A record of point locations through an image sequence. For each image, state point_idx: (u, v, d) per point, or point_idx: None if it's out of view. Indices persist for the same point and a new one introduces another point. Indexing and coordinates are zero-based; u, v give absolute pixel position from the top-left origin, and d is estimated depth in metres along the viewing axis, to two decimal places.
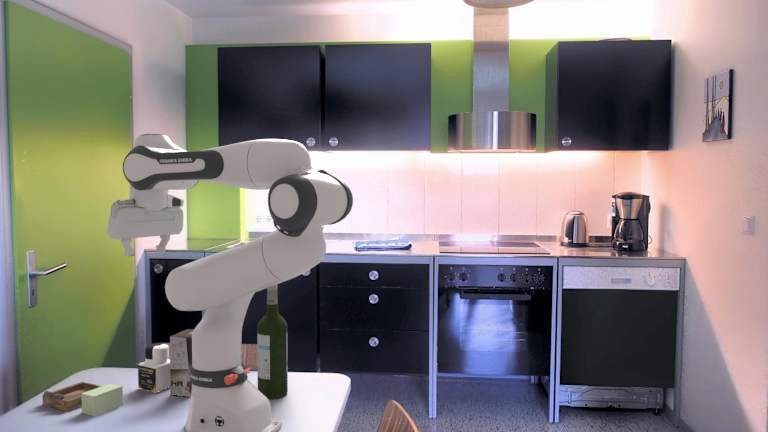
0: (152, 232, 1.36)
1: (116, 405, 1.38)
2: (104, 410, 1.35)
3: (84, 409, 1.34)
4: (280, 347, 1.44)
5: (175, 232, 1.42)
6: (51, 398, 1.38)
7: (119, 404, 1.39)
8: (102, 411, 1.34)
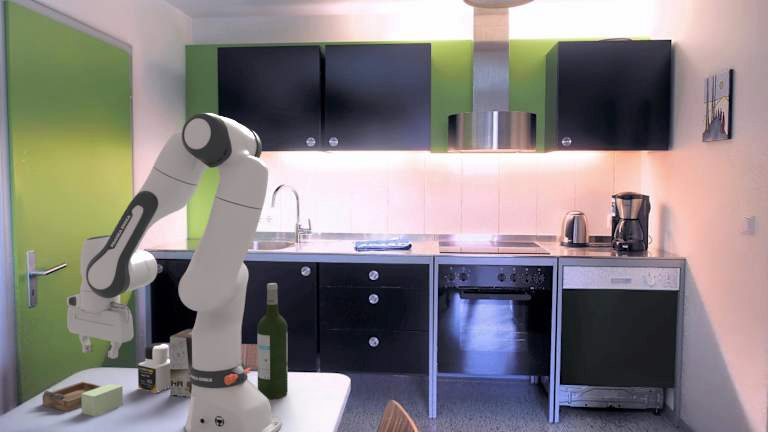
0: None
1: (116, 405, 1.38)
2: (104, 410, 1.35)
3: (84, 409, 1.34)
4: (280, 347, 1.44)
5: None
6: (51, 398, 1.38)
7: (119, 404, 1.39)
8: (102, 411, 1.34)
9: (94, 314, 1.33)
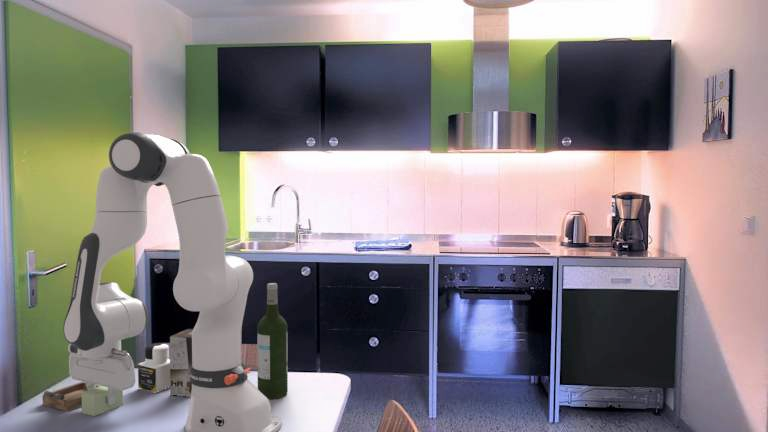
0: None
1: (116, 404, 1.38)
2: (104, 409, 1.35)
3: (84, 408, 1.34)
4: (280, 347, 1.44)
5: None
6: (51, 398, 1.38)
7: (119, 403, 1.39)
8: (102, 410, 1.34)
9: (95, 362, 1.33)
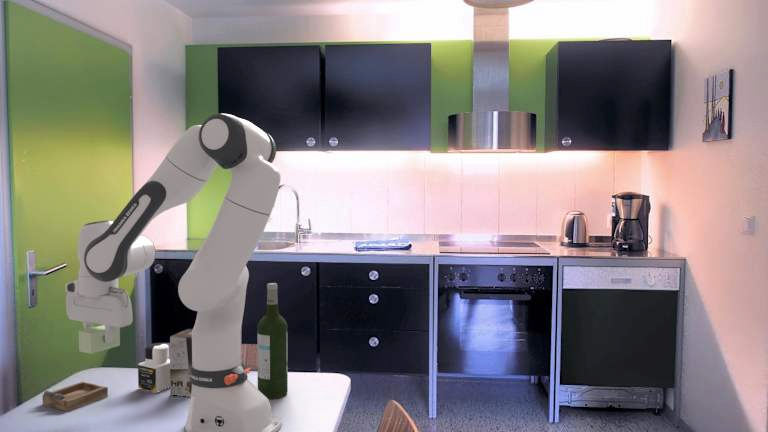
0: None
1: (113, 344, 1.37)
2: (101, 348, 1.34)
3: (81, 347, 1.33)
4: (280, 347, 1.44)
5: None
6: (51, 398, 1.38)
7: (116, 344, 1.38)
8: (99, 349, 1.34)
9: (93, 299, 1.33)
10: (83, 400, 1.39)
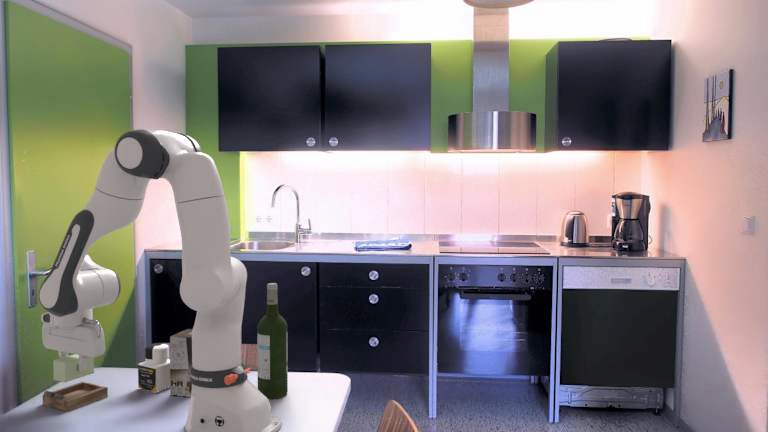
0: None
1: (87, 372, 1.43)
2: (75, 376, 1.40)
3: (56, 375, 1.39)
4: (280, 347, 1.44)
5: None
6: (51, 398, 1.38)
7: (90, 372, 1.44)
8: (73, 377, 1.39)
9: (67, 330, 1.38)
10: (83, 400, 1.39)
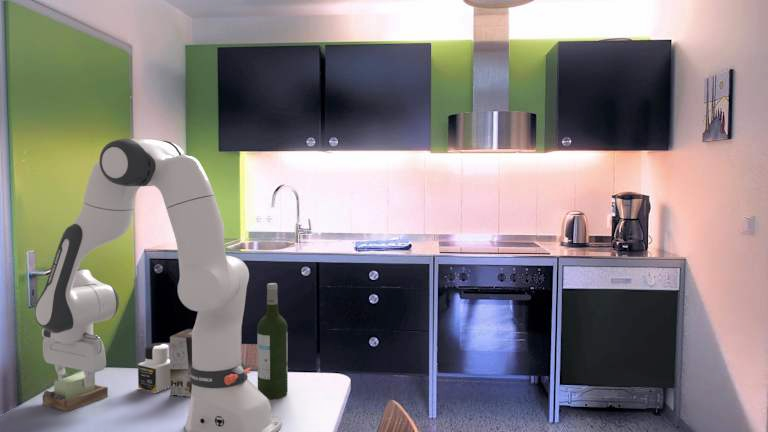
0: None
1: None
2: None
3: None
4: (280, 347, 1.44)
5: None
6: (51, 398, 1.38)
7: None
8: None
9: (68, 345, 1.38)
10: (83, 400, 1.39)
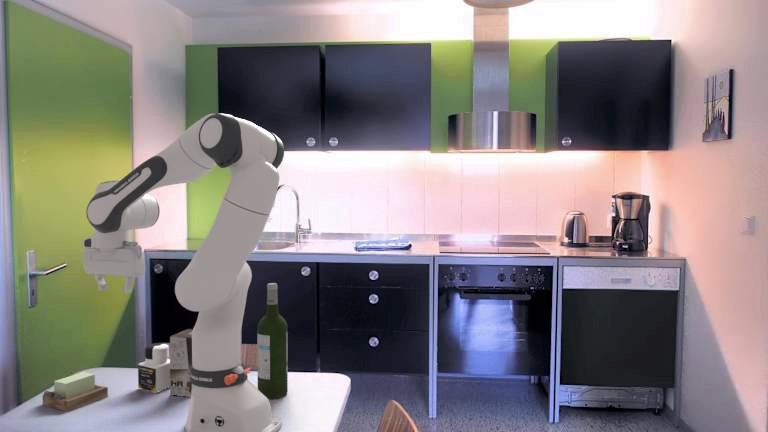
0: None
1: None
2: None
3: None
4: (280, 347, 1.44)
5: None
6: (51, 398, 1.38)
7: None
8: None
9: (108, 252, 1.45)
10: (83, 400, 1.39)
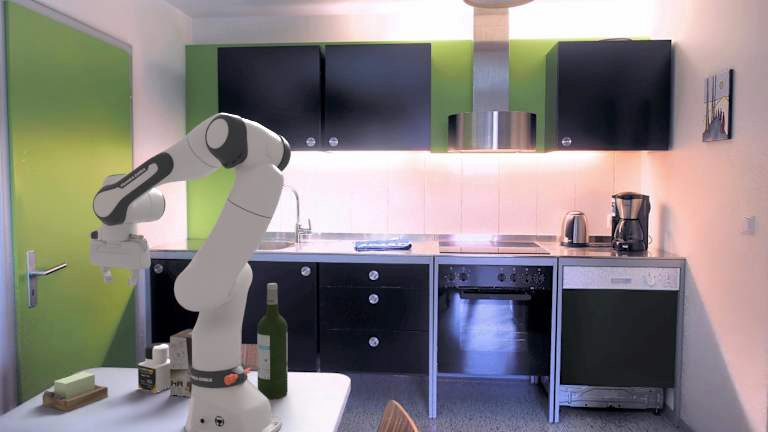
0: None
1: None
2: None
3: None
4: (280, 347, 1.44)
5: None
6: (51, 398, 1.38)
7: None
8: None
9: (114, 245, 1.46)
10: (83, 400, 1.39)
